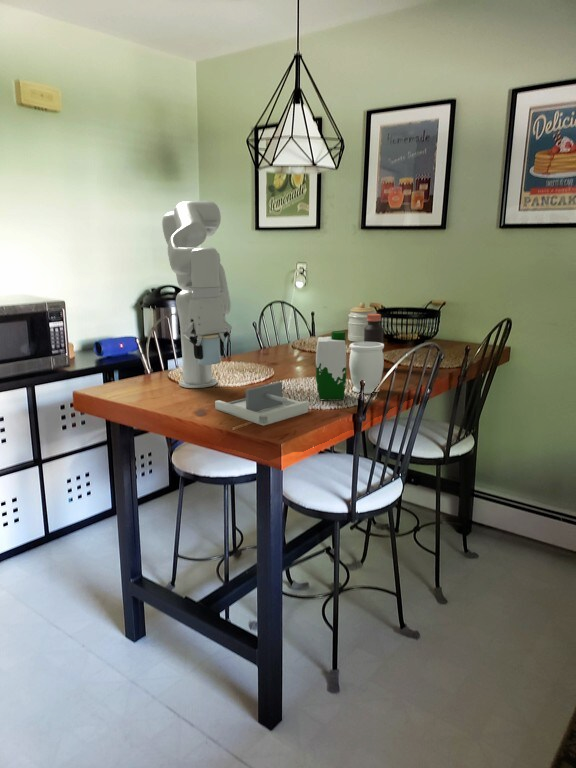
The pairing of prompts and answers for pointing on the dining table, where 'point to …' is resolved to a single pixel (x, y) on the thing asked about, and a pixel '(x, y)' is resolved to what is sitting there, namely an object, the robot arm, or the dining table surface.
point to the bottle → (373, 329)
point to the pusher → (264, 397)
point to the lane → (263, 411)
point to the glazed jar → (210, 349)
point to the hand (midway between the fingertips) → (209, 356)
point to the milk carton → (331, 366)
